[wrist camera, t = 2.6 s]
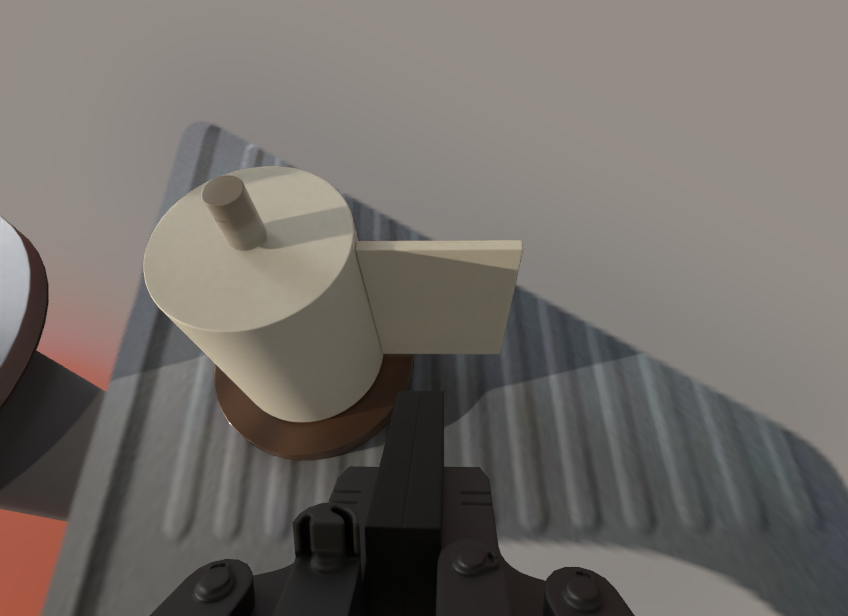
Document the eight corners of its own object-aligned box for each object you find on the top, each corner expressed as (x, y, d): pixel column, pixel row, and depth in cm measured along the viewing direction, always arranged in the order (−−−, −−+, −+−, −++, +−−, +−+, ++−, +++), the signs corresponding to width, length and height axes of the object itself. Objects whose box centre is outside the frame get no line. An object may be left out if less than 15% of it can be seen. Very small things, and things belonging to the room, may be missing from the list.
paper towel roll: (214, 397, 32) (97, 298, 21) (281, 279, 37) (214, 150, 26) (465, 480, 29) (475, 413, 18) (504, 339, 33) (531, 218, 23)
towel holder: (184, 424, 33) (-34, 282, 18) (277, 266, 40) (175, 67, 25) (372, 489, 30) (298, 387, 15) (438, 308, 37) (432, 114, 22)
